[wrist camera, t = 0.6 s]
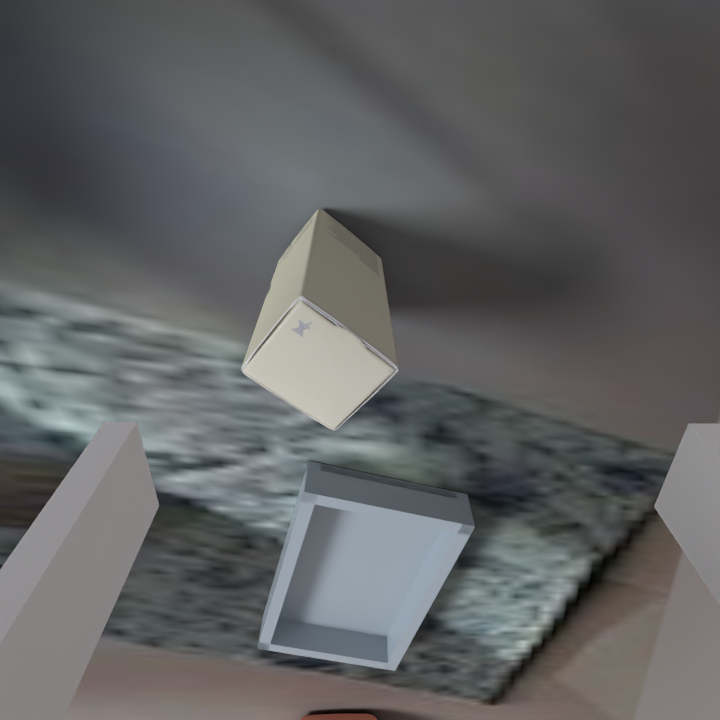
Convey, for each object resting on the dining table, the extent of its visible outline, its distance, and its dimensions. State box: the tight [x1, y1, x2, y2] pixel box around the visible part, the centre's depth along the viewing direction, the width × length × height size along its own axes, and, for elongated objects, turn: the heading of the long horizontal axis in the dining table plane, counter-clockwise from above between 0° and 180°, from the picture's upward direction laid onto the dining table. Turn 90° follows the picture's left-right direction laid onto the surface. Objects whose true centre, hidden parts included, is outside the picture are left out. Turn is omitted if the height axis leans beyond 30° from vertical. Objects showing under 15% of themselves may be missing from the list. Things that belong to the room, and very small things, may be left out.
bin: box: [257, 461, 475, 671], centre depth 43 cm, size 13×20×3 cm, turn 165°
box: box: [242, 209, 399, 430], centre depth 26 cm, size 5×4×13 cm
